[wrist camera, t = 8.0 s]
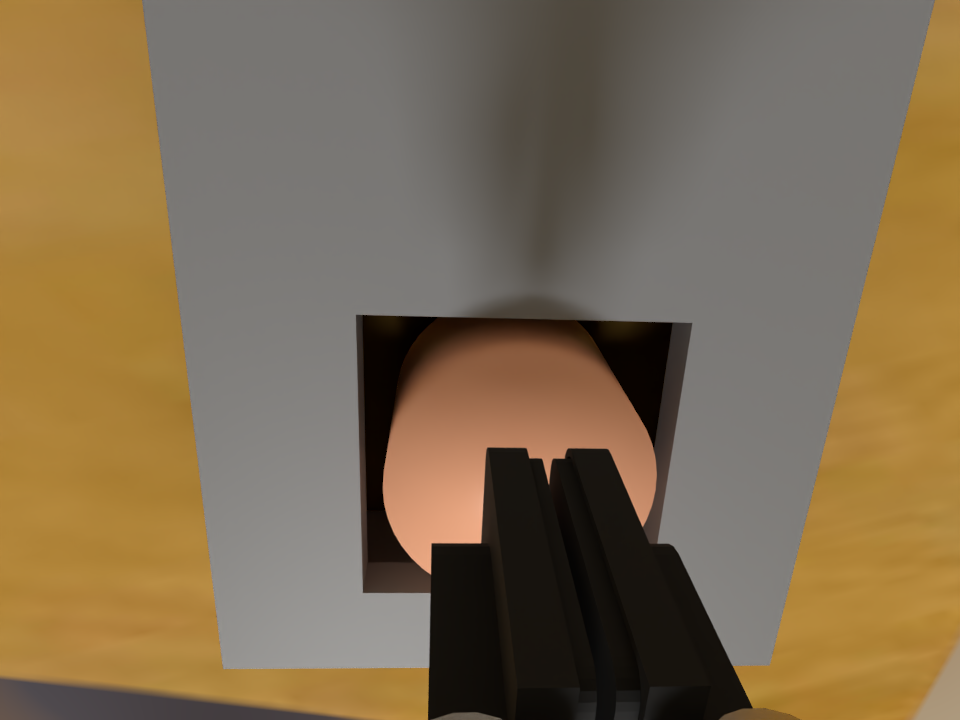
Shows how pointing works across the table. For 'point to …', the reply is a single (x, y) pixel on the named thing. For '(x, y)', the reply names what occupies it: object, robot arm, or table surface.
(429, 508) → the terracotta plunger
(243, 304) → the button housing
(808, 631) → the table surface
